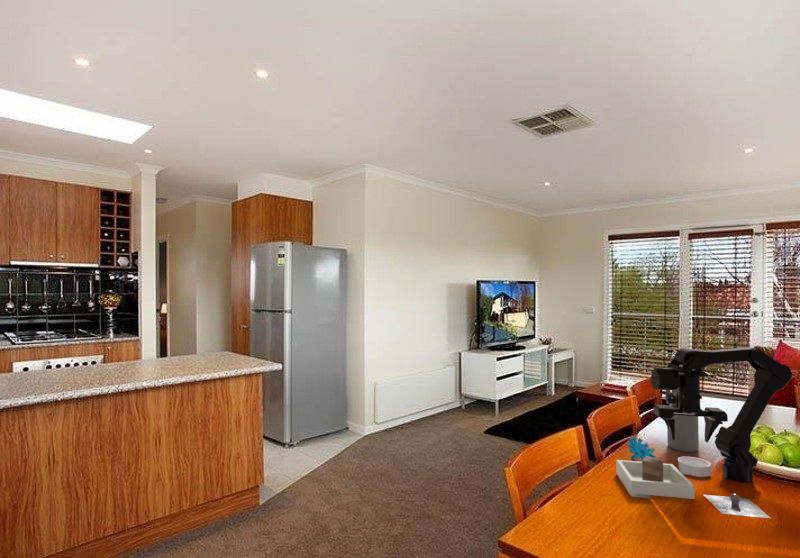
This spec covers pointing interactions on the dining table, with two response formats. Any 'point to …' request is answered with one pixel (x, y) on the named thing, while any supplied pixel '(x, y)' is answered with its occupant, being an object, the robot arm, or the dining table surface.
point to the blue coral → (639, 449)
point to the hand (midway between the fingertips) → (689, 440)
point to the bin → (670, 487)
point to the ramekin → (694, 466)
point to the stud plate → (735, 510)
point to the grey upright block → (652, 469)
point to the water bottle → (684, 431)
